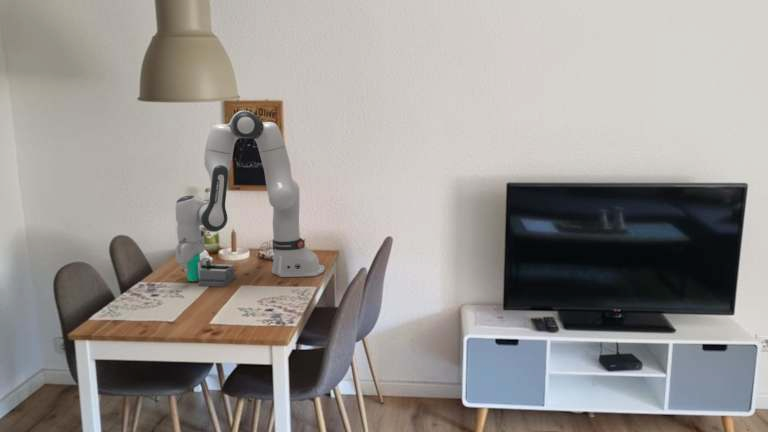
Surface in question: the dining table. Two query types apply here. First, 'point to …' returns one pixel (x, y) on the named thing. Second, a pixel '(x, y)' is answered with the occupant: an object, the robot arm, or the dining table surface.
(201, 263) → the light grey block
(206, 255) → the mug
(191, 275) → the candle
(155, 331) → the dining table surface
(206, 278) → the grey box
